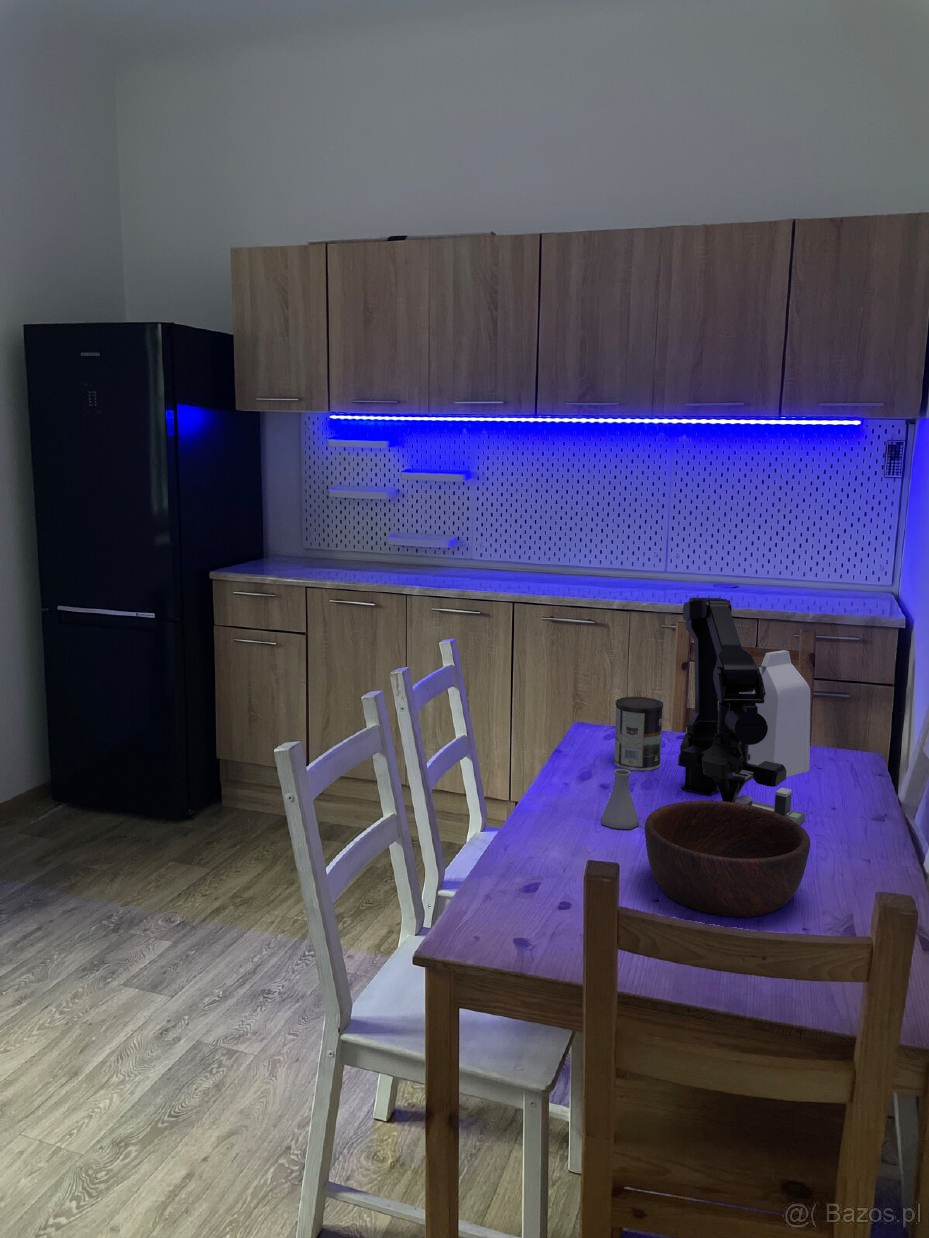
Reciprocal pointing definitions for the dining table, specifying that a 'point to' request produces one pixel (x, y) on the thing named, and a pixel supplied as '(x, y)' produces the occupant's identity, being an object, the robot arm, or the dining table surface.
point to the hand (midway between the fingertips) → (728, 809)
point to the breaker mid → (744, 800)
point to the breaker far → (783, 801)
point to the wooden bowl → (726, 856)
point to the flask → (620, 804)
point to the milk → (783, 716)
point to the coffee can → (638, 733)
